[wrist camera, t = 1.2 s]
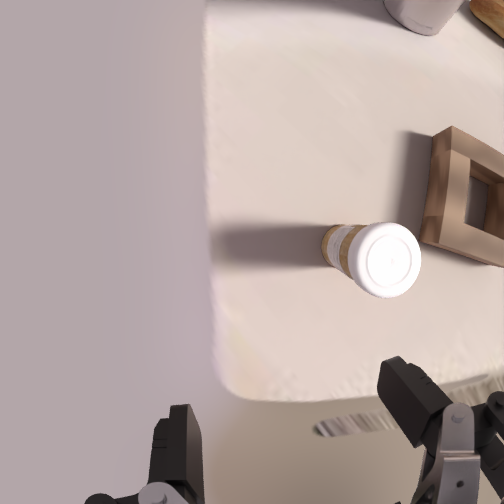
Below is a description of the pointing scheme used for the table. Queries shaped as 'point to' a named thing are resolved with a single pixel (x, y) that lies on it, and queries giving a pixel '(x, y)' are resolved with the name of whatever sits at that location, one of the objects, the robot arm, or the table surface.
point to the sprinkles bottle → (374, 256)
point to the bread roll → (490, 13)
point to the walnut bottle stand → (464, 197)
